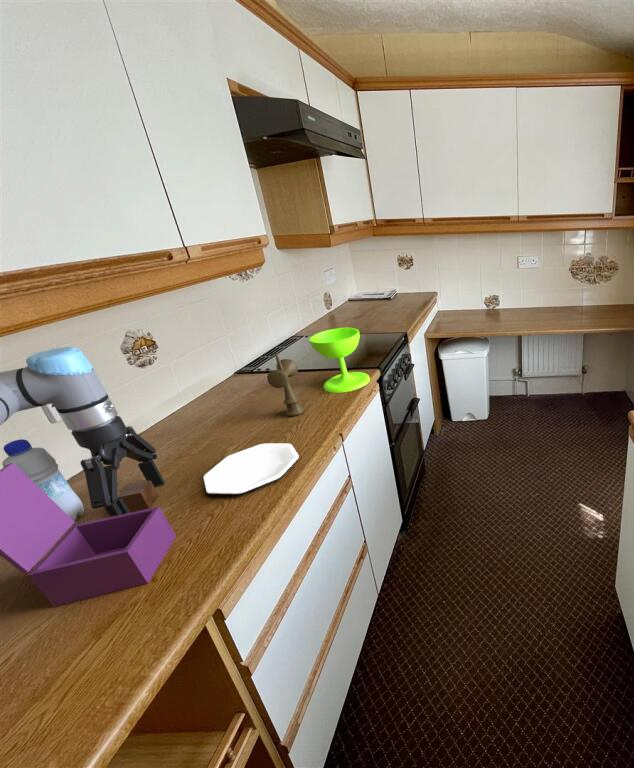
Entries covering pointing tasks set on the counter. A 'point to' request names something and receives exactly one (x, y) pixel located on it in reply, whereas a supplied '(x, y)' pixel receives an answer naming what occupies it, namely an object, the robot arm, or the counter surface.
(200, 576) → the counter surface
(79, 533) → the purple hinged box
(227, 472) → the plate
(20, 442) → the bottle
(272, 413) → the counter surface
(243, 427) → the counter surface
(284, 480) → the counter surface
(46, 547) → the lid
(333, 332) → the wineglass
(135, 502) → the block
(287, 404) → the kendama
